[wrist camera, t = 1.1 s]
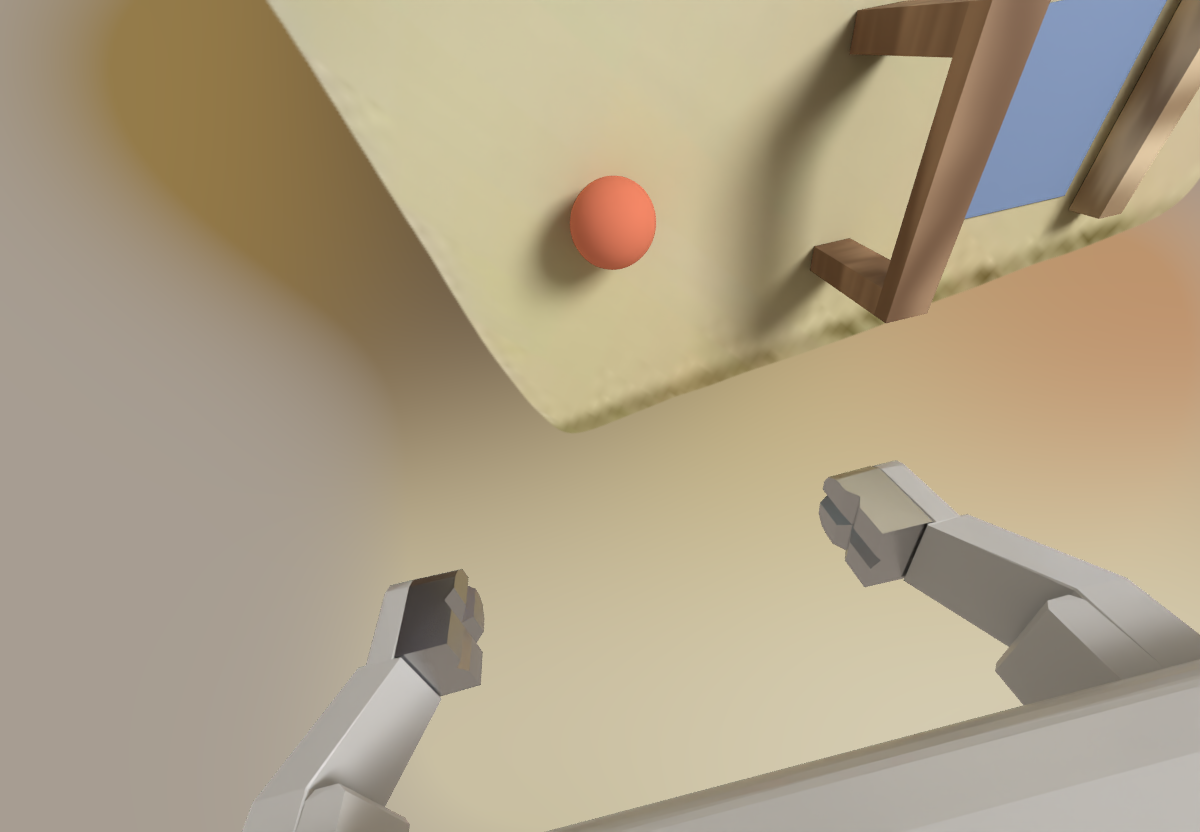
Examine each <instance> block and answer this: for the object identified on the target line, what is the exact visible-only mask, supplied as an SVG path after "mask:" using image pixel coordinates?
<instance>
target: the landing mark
mask: <svg viewBox="0 0 1200 832" xmlns="http://www.w3.org/2000/svg"><path fill="white" fill-rule="evenodd" d="M1166 1H1167V0H1062V1H1057V2H1052V3H1050V4H1049V6H1048V9H1047V11H1046V14H1045V16H1044V19H1043V21H1042V24H1041V26H1040V29H1039V32H1038V34H1037V37H1036V39H1035V42H1034V44H1033V47H1032V49H1031V52H1030V54H1029V57H1028V59H1027V62H1026V64H1025V67H1024V70H1023V72H1022V75H1021V77H1020V80H1019V82H1018V85H1017V87H1016V90H1015V92H1014V95H1013V97H1012V100H1011V102H1010V105H1009V107H1008V110H1007V113H1006V115H1005V118H1004V120H1003V123H1002V125H1001V128H1000V130H999V133H998V135H997V138H996V140H995V143H994V145H993V148H992V150H991V153H990V156H989V158H988V161H987V163H986V166H985V168H984V171H983V173H982V176H981V178H980V181H979V183H978V186H977V188H976V191H975V193H974V196H973V199H972V201H971V204H970V206H969V209H968V211H967V214H966V216H965V219H966V218H970V217H974V216H979V215H983V214H987V213H992V212H996V211H1000V210H1005V209H1009V208H1013V207H1018V206H1022V205H1026V204H1031V203H1035V202H1039V201H1044V200H1048V199H1052V198H1056V197H1061V196H1065V194H1066V192H1067V190H1068V188H1069V186H1070V184H1071V182H1072V180H1073V179H1074V177H1075V175H1076V173H1077V171H1078V169H1079V167H1080V165H1081V163H1082V161H1083V160H1084V158H1085V156H1086V154H1087V152H1088V150H1089V148H1090V146H1091V144H1092V142H1093V140H1094V139H1095V137H1096V135H1097V133H1098V131H1099V129H1100V127H1101V125H1102V123H1103V121H1104V119H1105V118H1106V116H1107V114H1108V112H1109V110H1110V108H1111V106H1112V104H1113V102H1114V100H1115V98H1116V97H1117V95H1118V93H1119V91H1120V89H1121V87H1122V85H1123V83H1124V81H1125V79H1126V77H1127V76H1128V74H1129V72H1130V70H1131V68H1132V66H1133V64H1134V62H1135V60H1136V58H1137V56H1138V55H1139V53H1140V51H1141V49H1142V47H1143V45H1144V43H1145V41H1146V39H1147V37H1148V35H1149V34H1150V32H1151V30H1152V28H1153V26H1154V24H1155V22H1156V20H1157V18H1158V16H1159V15H1160V13H1161V11H1162V9H1163V7H1164V5H1165V3H1166Z"/></svg>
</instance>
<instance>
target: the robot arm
mask: <svg viewBox="0 0 1200 832" xmlns="http://www.w3.org/2000/svg"><path fill="white" fill-rule="evenodd" d="M823 490H824V491H825V493H826V494H827V496H826V497H825V498H824V499H823V500H822V501H821V503H820V508H819V515H820V520H821V524H822V527H823V528H824V531H825V533H826V534H827V536H828V537H829V539H830V540H831V542H832V543H833V544H835V545H837V546H839V547H841V548H843V549H844V550H846V553H845V561H846V562H847V564H848V565H849V566H850V568H851V569H852V571H853V572H854V573H855V575H856V576H857V577H858V579H859V580H860V582H861V583H862V584H863V586H864V587H867V586H872V585H876V584H880V583H885V582H889V581H893V580H898V579H902V578H904V581H905V582H907V583H908V584H910V585H912V586H913V587H915V588H916V589H918V590H920V591H921V592H923V593H924V594H926V595H928V596H929V597H931V598H932V599H934V600H936V601H937V602H939V603H940V604H942V605H943V606H945V607H947V608H948V609H950V610H951V611H953V612H955V613H956V614H958V615H959V616H961V617H962V618H964V619H966V620H967V621H969V622H970V623H972V624H974V625H975V626H977V627H979V628H980V629H982V630H983V631H985V632H986V633H988V634H990V635H991V636H993V637H994V638H996V639H997V640H999V641H1001V642H1002V643H1004V644H1005V645H1007V646H1009V648H1008V650H1007V651H1006V652H1005V653H1004V654H1003V656H1002V657H1001V658H1000V659H999V660H998V662H997V664H996V670H995V671H996V672H997V674H998V675H999V676H1000V677H1001V678H1002V680H1003V681H1004V682H1005V683H1006V685H1007V686H1008V687H1009V688H1010V689H1011V691H1012V692H1013V693H1014V694H1015V695H1016V697H1018V699H1019V700H1020V701H1021V703H1022V704H1023V705H1024V706H1020V707H1016V708H1012V709H1009V710H1005V711H1001V712H997V713H993V714H990V715H986V716H982V717H978V718H974V719H971V720H967V721H963V722H960V723H956V724H952V725H948V726H944V727H940V728H937V729H933V730H929V731H925V732H921V733H918V734H914V735H910V736H906V737H902V738H899V739H895V740H891V741H887V742H884V743H880V744H876V745H873V746H868V747H865V748H861V749H857V750H853V751H850V752H846V753H842V754H838V755H834V756H831V757H827V758H823V759H819V760H816V761H812V762H808V763H804V764H800V765H797V766H793V767H789V768H785V769H781V770H778V771H774V772H770V773H766V774H762V775H759V776H755V777H752V778H747V779H743V780H740V781H736V782H732V783H728V784H724V785H721V786H717V787H713V788H710V789H706V790H702V791H698V792H694V793H690V794H687V795H683V796H679V797H675V798H672V799H668V800H664V801H660V802H657V803H653V804H649V805H645V806H641V807H637V808H633V809H630V810H626V811H622V812H618V813H615V814H611V815H607V816H603V817H599V818H596V819H592V820H588V821H585V822H580V823H577V824H573V825H569V826H566V827H562V828H558V829H554V830H550V831H546V832H1200V635H1199V634H1198V633H1197V632H1196V631H1194V630H1193V629H1192V628H1190V627H1189V626H1188V625H1187V624H1185V623H1184V622H1183V621H1181V620H1180V619H1179V618H1178V617H1176V616H1175V615H1174V614H1172V613H1171V612H1170V611H1169V610H1167V609H1166V608H1165V607H1163V606H1162V605H1161V604H1160V603H1158V602H1157V601H1156V600H1154V599H1153V598H1152V597H1151V596H1149V595H1148V594H1147V593H1146V592H1144V591H1143V590H1142V589H1140V588H1139V587H1138V586H1137V585H1135V584H1134V583H1132V582H1131V581H1130V580H1129V579H1128V578H1126V577H1123V576H1120V575H1118V574H1116V573H1113V572H1111V571H1108V570H1106V569H1103V568H1100V567H1098V566H1095V565H1093V564H1090V563H1088V562H1086V561H1083V560H1081V559H1078V558H1075V557H1073V556H1070V555H1068V554H1066V553H1063V552H1060V551H1058V550H1055V549H1053V548H1050V547H1048V546H1045V545H1043V544H1040V543H1038V542H1035V541H1033V540H1030V539H1028V538H1025V537H1023V536H1020V535H1018V534H1015V533H1013V532H1010V531H1008V530H1005V529H1003V528H1000V527H998V526H995V525H993V524H990V523H988V522H985V521H983V520H980V519H978V518H975V517H973V516H970V515H968V514H966V515H961V516H960V515H958V514H957V513H956V512H955V511H954V510H953V509H952V508H951V507H950V506H949V505H948V504H947V503H946V502H945V501H943V500H942V499H941V498H940V497H939V496H938V495H937V494H936V493H935V492H934V491H933V490H931V489H930V488H929V487H928V486H927V485H926V484H925V483H924V482H923V481H922V480H921V479H920V478H918V477H917V476H916V475H915V474H914V473H913V472H912V471H911V470H910V469H909V468H908V467H907V466H905V465H904V464H903V463H901V462H899V461H891V462H887V463H883V464H879V465H875V466H872V467H871V466H869V467H865V468H861V469H858V470H854V471H850V472H846V473H842V474H838V475H835V476H831V477H828V478H827V479H826V480H825V482H824V486H823ZM483 631H484V612H483V605H482V602H481V598H480V596H479V594H478V592H477V590H476V589H475V588H472V587H469V586H468V576H467V575H466V573H465V572H464V571H463V569H460V570H456V571H451V572H447V573H442V574H438V575H433V576H429V577H425V578H420V579H415V580H411V581H407V582H402V583H399V584H394V585H390V587H389V588H388V590H387V591H386V593H385V595H384V599H383V603H382V606H381V610H380V614H379V618H378V622H377V625H376V629H375V633H374V637H373V640H372V644H371V648H370V652H369V656H368V659H367V663H366V666H363V667H359V668H358V669H357V670H356V672H355V673H354V674H353V676H352V677H351V678H350V679H349V681H348V682H347V683H346V684H345V686H344V687H343V688H342V689H341V691H340V692H339V693H338V695H337V696H336V697H335V698H334V700H333V701H332V702H331V703H330V705H329V706H328V707H327V709H326V710H325V711H324V712H323V714H322V715H321V716H320V718H319V719H318V720H317V721H316V723H315V724H314V725H313V726H312V728H311V729H310V730H309V732H308V733H307V734H306V735H305V737H304V738H303V739H302V740H301V742H300V743H299V744H298V746H297V747H296V748H295V749H294V751H293V752H292V753H291V754H290V756H289V757H288V758H287V760H286V761H285V762H284V763H283V765H282V766H281V767H280V769H279V770H278V771H277V772H276V774H275V775H274V776H273V778H272V779H271V780H270V781H269V783H268V784H267V785H266V786H265V788H264V789H263V790H262V791H261V793H260V794H259V795H258V797H257V798H256V799H255V801H254V802H253V803H252V806H251V809H250V811H249V814H248V817H247V819H246V822H245V825H244V827H243V830H242V832H409V823H408V821H407V820H406V818H405V817H403V816H401V815H399V814H397V813H395V812H393V811H391V810H389V809H387V808H385V805H386V804H387V802H388V800H389V798H390V796H391V794H392V792H393V790H394V788H395V786H396V784H397V783H398V781H399V779H400V777H401V775H402V773H403V771H404V769H405V767H406V765H407V763H408V762H409V760H410V758H411V756H412V754H413V752H414V750H415V748H416V746H417V744H418V742H419V741H420V739H421V737H422V735H423V733H424V731H425V729H426V727H427V725H428V723H429V721H430V720H431V718H432V716H433V714H434V712H435V710H436V708H437V706H438V704H439V702H440V700H441V698H440V696H443V695H447V694H450V693H453V692H457V691H461V690H464V689H468V688H471V687H475V686H478V685H481V669H482V653H483V652H482V651H481V649H480V648H479V646H478V645H477V644H476V643H477V641H478V639H479V638H480V636H481V635H482V633H483Z"/></svg>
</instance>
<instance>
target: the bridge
mask: <svg viewBox="0 0 1200 832" xmlns="http://www.w3.org/2000/svg"><path fill="white" fill-rule="evenodd" d="M1050 1H1051V0H909V1H902V2H897V3H892V4H887V5H882V6H877V7H872V8H867V9H862V10H857V16H856V21H855V27H854V32H853V38H852V43H851V49H850V54H862V55H892V56H922V57H952V61H951V64H950V68H949V71H948V74H947V78H946V81H945V84H944V87H943V91H942V94H941V97H940V100H939V104H938V107H937V110H936V114H935V117H934V120H933V123H932V127H931V130H930V133H929V136H928V140H927V143H926V146H925V150H924V153H923V156H922V159H921V163H920V166H919V169H918V172H917V176H916V179H915V182H914V186H913V189H912V192H911V195H910V199H909V202H908V205H907V208H906V212H905V215H904V218H903V222H902V225H901V228H900V231H899V235H898V238H897V241H896V244H895V248H894V251H893V254H892V258H891V260H889V259H887V258H885V257H884V256H882V255H880V254H878V253H876V252H874V251H872V250H871V249H869V248H867V247H865V246H863V245H861V244H859V243H858V242H856V241H854V240H852V239H850V238H849V239H844V240H840V241H836V242H831V243H827V244H823V245H818V246H814V251H813V257H812V262H811V268H810V271H812V272H813V273H815V274H816V275H818V276H819V277H820V278H822V279H823V280H825V281H826V282H828V283H829V284H830V285H832V286H833V287H835V288H836V289H838V290H839V291H840V292H842V293H843V294H845V295H846V296H848V297H849V298H850V299H852V300H853V301H855V302H856V303H857V304H859V305H860V306H862V307H863V308H865V309H866V310H867V311H869V312H870V313H872V314H873V315H875V316H876V317H877V318H879V319H880V320H882V321H883V322H885V323H889V322H893V321H897V320H901V319H905V318H909V317H914V316H918V315H922V314H926V313H927V312H928V310H929V307H930V305H931V302H932V300H933V297H934V295H935V292H936V290H937V287H938V285H939V282H940V279H941V277H942V274H943V272H944V269H945V267H946V264H947V262H948V259H949V257H950V254H951V252H952V249H953V247H954V244H955V242H956V239H957V236H958V234H959V231H960V229H961V226H962V224H963V221H964V219H965V216H966V214H967V211H968V209H969V206H970V204H971V201H972V199H973V196H974V193H975V191H976V188H977V186H978V183H979V181H980V178H981V176H982V173H983V171H984V168H985V166H986V163H987V161H988V158H989V156H990V153H991V150H992V148H993V145H994V143H995V140H996V138H997V135H998V133H999V130H1000V128H1001V125H1002V123H1003V120H1004V118H1005V115H1006V113H1007V110H1008V107H1009V105H1010V102H1011V100H1012V97H1013V95H1014V92H1015V90H1016V87H1017V85H1018V82H1019V80H1020V77H1021V75H1022V72H1023V70H1024V67H1025V64H1026V62H1027V59H1028V57H1029V54H1030V52H1031V49H1032V47H1033V44H1034V42H1035V39H1036V37H1037V34H1038V32H1039V29H1040V26H1041V24H1042V21H1043V19H1044V16H1045V14H1046V11H1047V9H1048V6H1049V4H1050Z"/></svg>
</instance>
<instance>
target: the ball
mask: <svg viewBox="0 0 1200 832" xmlns="http://www.w3.org/2000/svg"><path fill="white" fill-rule="evenodd" d="M655 228H656V216H655V210H654V207H653V204H652V201H651V199H650V198H649V196H648V194H647V193H646V192H645V190H644V189H643V188H642V187H641V186H640V185H638V184H637V183H635V182H634V181H632V180H630V179H628V178H625V177H621V176H606V177H602V178H599V179H597V180H595V181H593V182H591V183H590V184H588V185H587V186H586V187H585V188H584V189H583V190H582V191H581V192H580V194H579V195H578V197H577V198H576V200H575V202H574V205H573V207H572V211H571V217H570V230H571V235H572V239H573V242H574V244H575V246H576V248H577V250H578V251H579V252H580V254H581V255H582V256H583V257H584V258H585V259H586V260H587V261H589V262H590V263H591V264H593V265H595V266H597V267H600V268H604V269H610V270H616V269H622V268H625V267H628V266H630V265H632V264H634V263H635V262H637V261H638V260H639V259H640V258H641V257H642V256H643V255H644V254H645V253H646V252H647V250H648V249H649V247H650V245H651V243H652V241H653V238H654V234H655Z"/></svg>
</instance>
